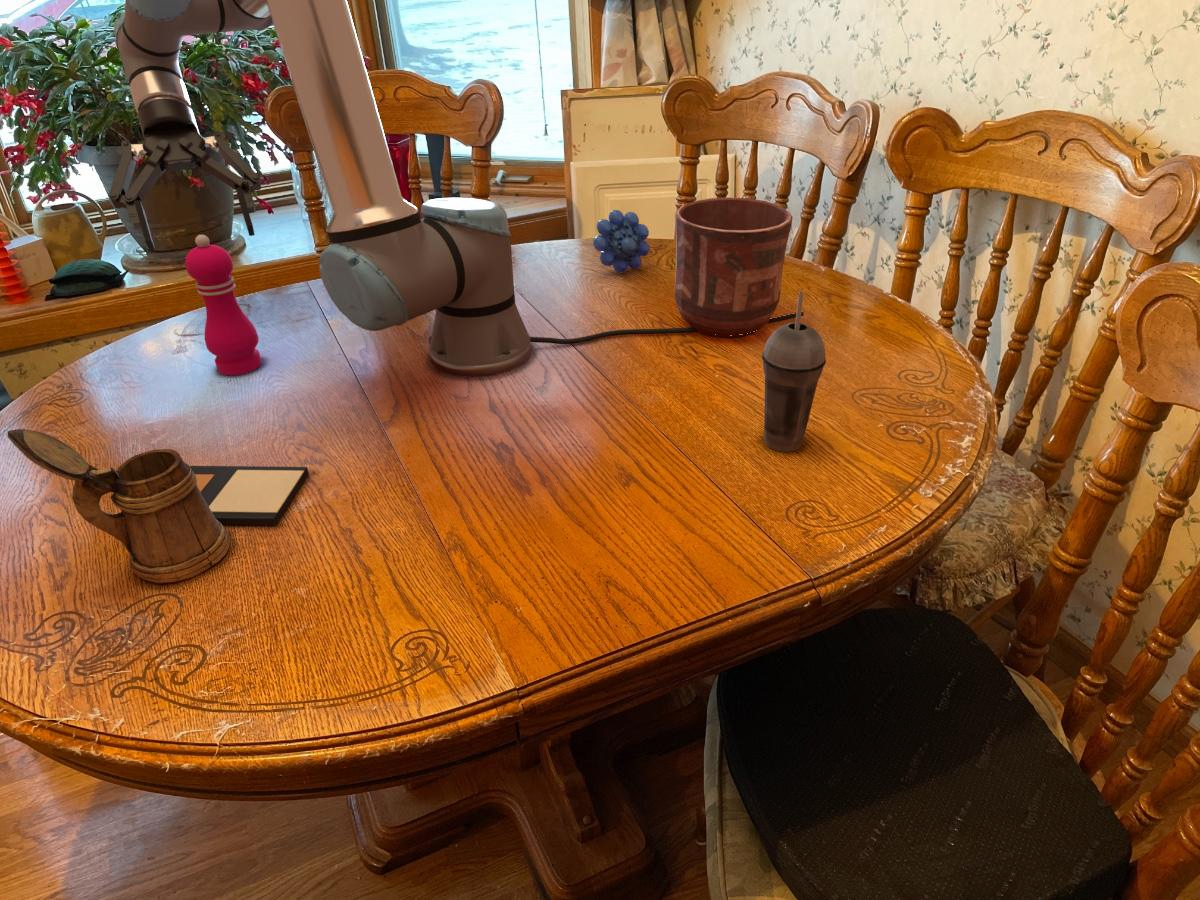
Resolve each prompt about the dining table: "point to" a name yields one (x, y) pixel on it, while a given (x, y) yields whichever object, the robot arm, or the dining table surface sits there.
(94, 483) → the wooden mug
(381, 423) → the dining table surface
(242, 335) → the pepper mill
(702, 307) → the pottery
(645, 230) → the blue ball flower
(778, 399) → the beverage cup
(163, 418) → the dining table surface
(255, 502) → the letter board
